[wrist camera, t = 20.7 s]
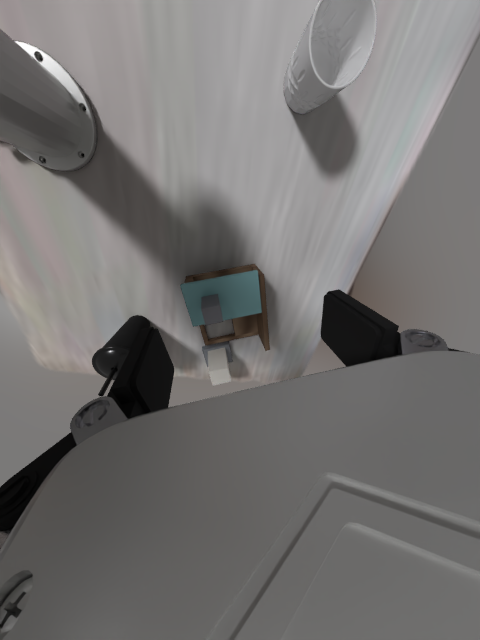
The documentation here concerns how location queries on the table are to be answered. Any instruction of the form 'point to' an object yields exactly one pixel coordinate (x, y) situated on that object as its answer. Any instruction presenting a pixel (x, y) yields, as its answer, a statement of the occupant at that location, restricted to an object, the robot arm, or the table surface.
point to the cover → (222, 298)
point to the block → (218, 366)
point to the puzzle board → (246, 323)
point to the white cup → (330, 52)
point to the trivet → (217, 346)
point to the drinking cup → (117, 350)
